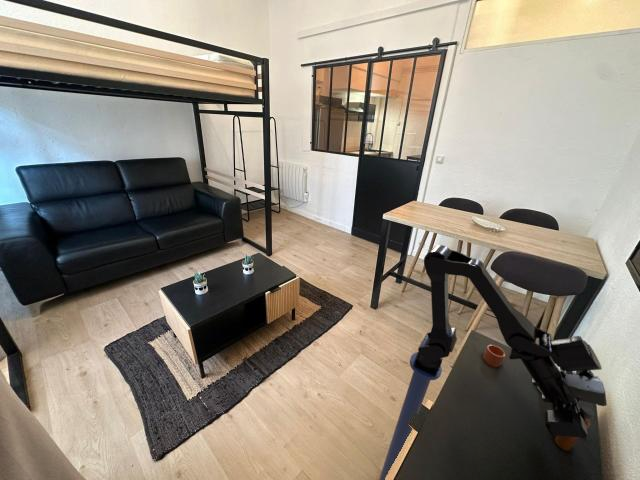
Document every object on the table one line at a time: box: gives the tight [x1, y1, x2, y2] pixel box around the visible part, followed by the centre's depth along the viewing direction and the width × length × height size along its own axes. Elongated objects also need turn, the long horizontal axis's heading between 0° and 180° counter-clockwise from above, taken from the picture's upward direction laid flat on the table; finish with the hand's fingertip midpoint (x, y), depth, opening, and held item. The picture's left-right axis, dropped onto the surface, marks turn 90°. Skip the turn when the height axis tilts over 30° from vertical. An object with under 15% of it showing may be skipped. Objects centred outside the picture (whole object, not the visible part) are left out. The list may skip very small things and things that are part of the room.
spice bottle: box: [554, 405, 596, 452], centre depth 59 cm, size 3×3×13 cm
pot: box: [482, 344, 506, 368], centre depth 83 cm, size 5×5×4 cm
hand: (583, 432), depth 58 cm, fingers closed on spice bottle, 3 cm apart
